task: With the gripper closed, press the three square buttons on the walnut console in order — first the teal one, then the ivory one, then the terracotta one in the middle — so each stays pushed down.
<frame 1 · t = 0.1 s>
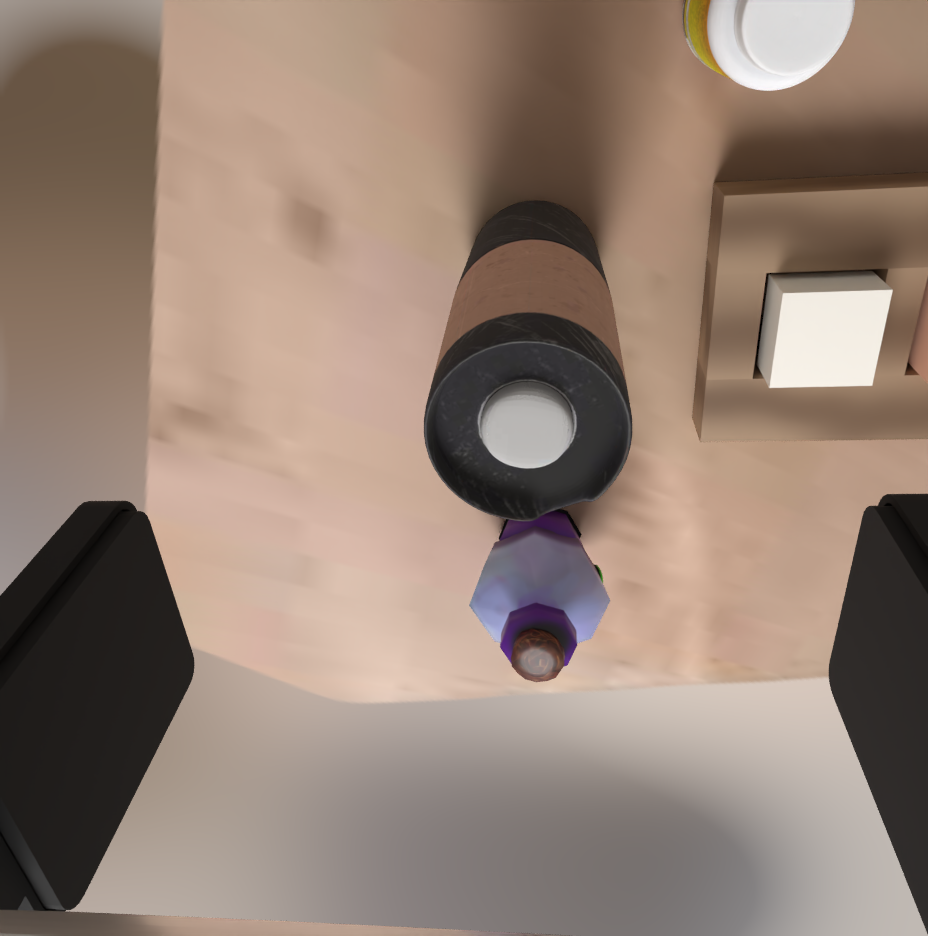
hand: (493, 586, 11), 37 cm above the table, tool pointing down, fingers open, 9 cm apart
travel mug: (534, 262, 46), on the table
supplement bottle: (739, 6, 39), on the table
potion bottle: (539, 534, 56), on the table
ivory button: (820, 329, 43), point 4 cm above the table, slide at 0.0 cm
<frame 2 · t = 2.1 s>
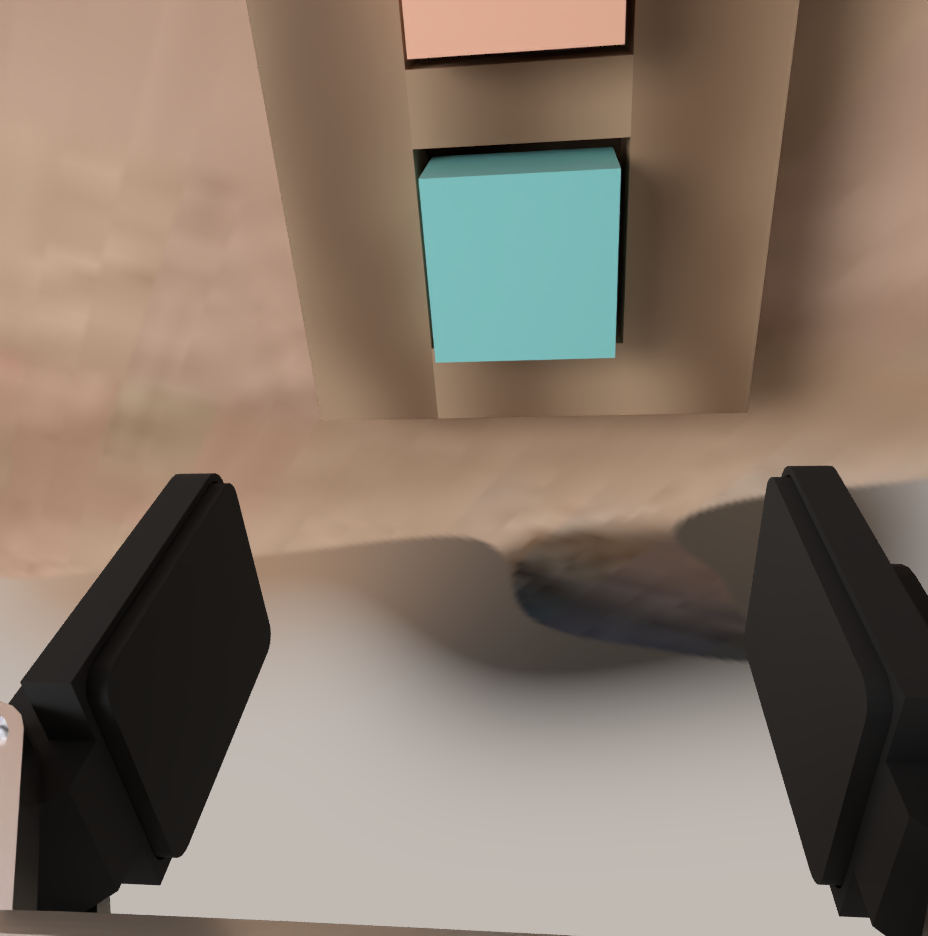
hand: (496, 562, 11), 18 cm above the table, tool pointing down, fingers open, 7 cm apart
teal button: (522, 256, 23), point 3 cm above the table, slide at 0.0 cm
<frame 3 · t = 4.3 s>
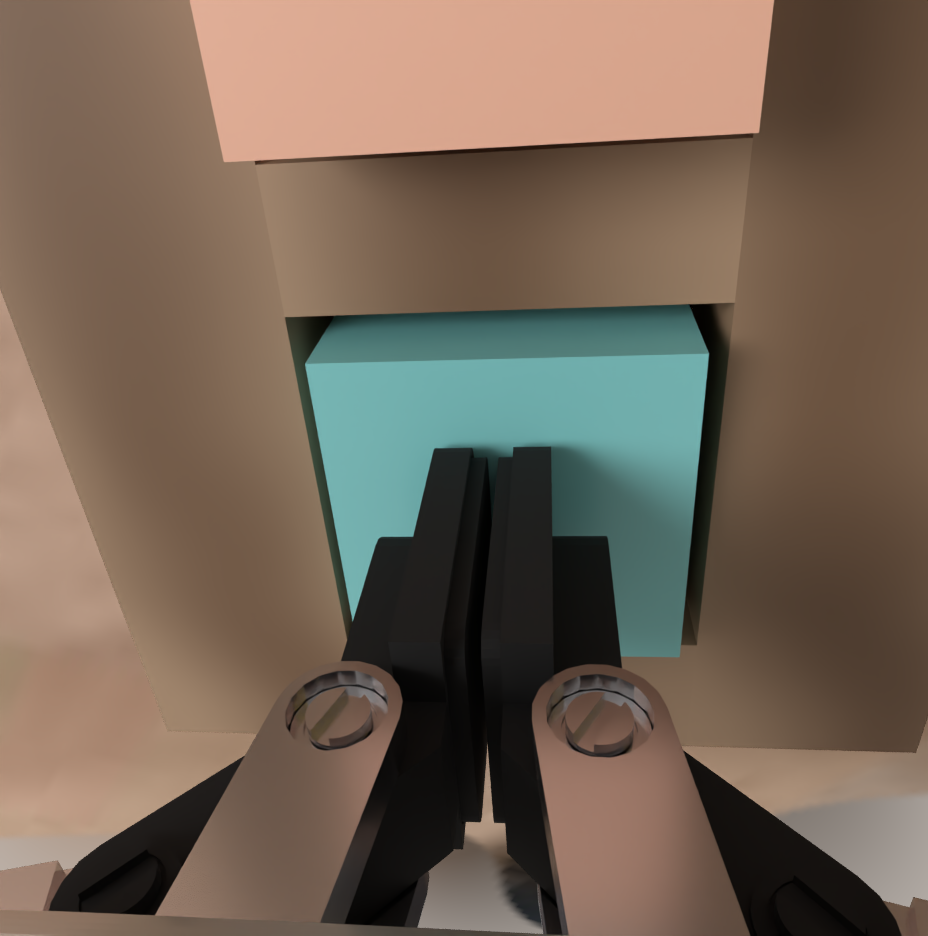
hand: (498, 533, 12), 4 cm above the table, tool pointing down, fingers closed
teal button: (513, 469, 13), point 2 cm above the table, slide at 1.3 cm, touching gripper
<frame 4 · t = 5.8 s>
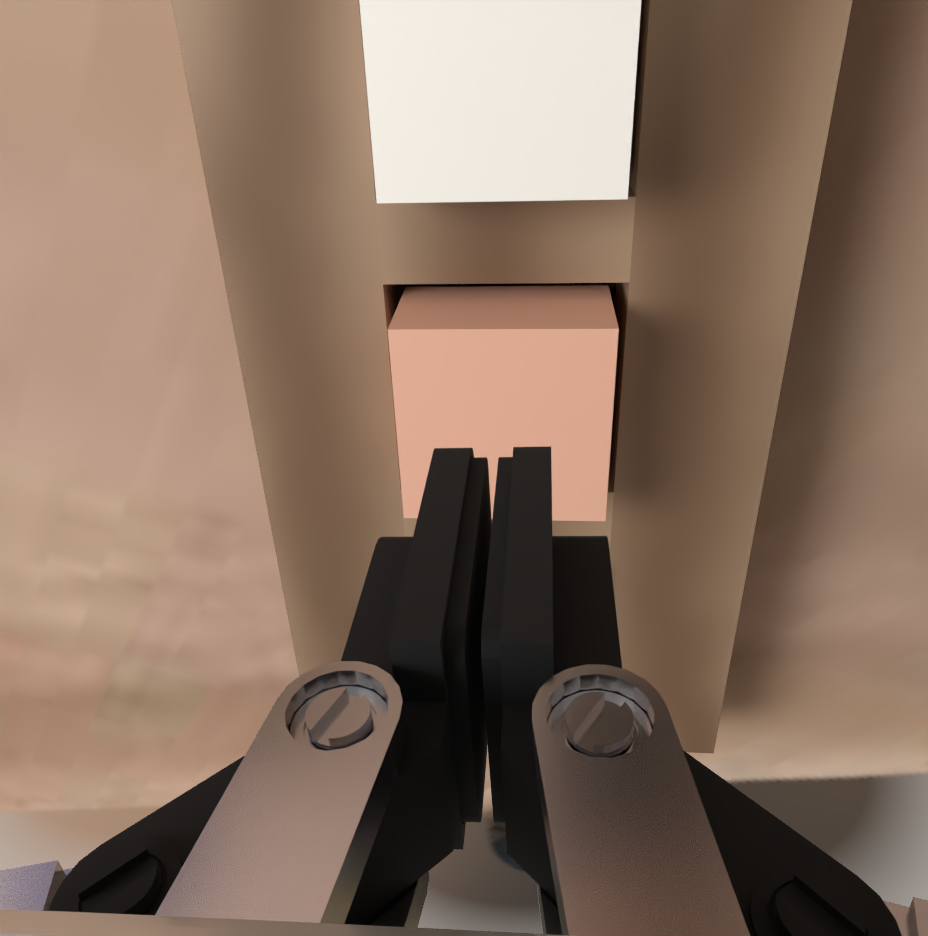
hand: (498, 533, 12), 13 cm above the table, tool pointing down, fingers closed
terracotta button: (504, 403, 21), point 3 cm above the table, slide at 0.0 cm
ivory button: (502, 55, 17), point 3 cm above the table, slide at 0.0 cm
console: (508, 350, 24), on the table
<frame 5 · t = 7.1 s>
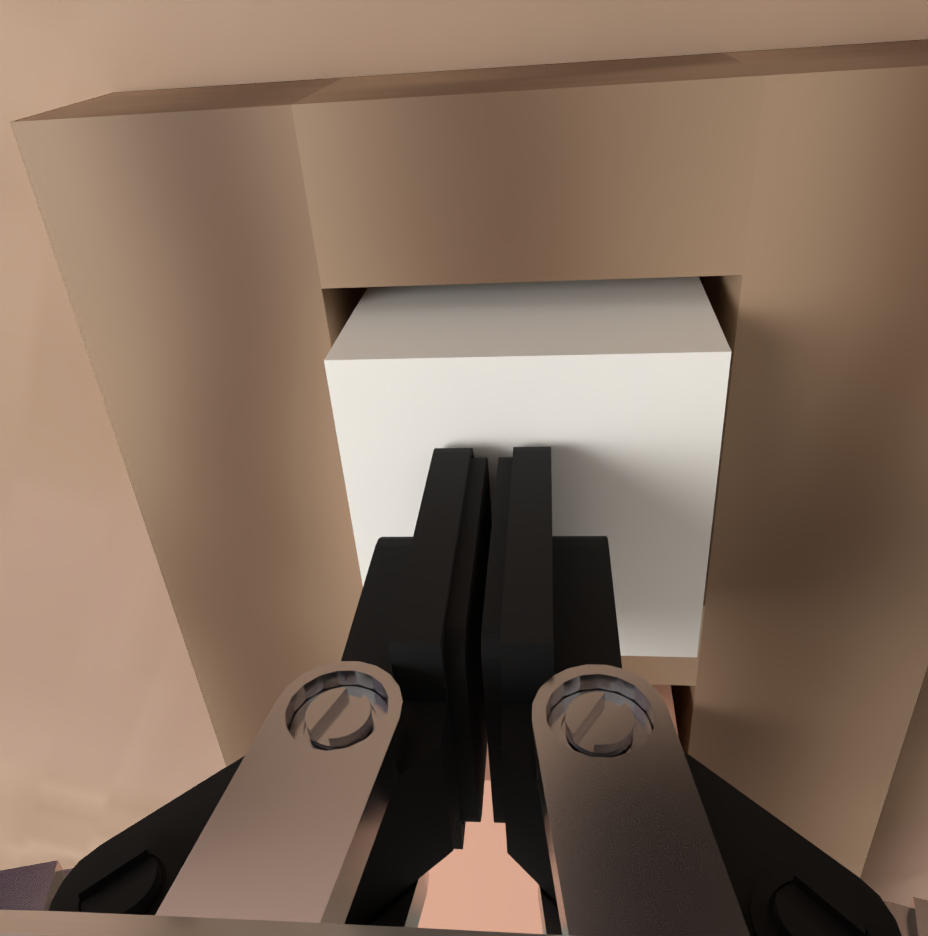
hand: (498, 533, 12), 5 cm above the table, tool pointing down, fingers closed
terracotta button: (539, 801, 17), point 3 cm above the table, slide at 0.0 cm
ivory button: (530, 467, 13), point 3 cm above the table, slide at 0.3 cm, touching gripper
console: (542, 677, 20), on the table
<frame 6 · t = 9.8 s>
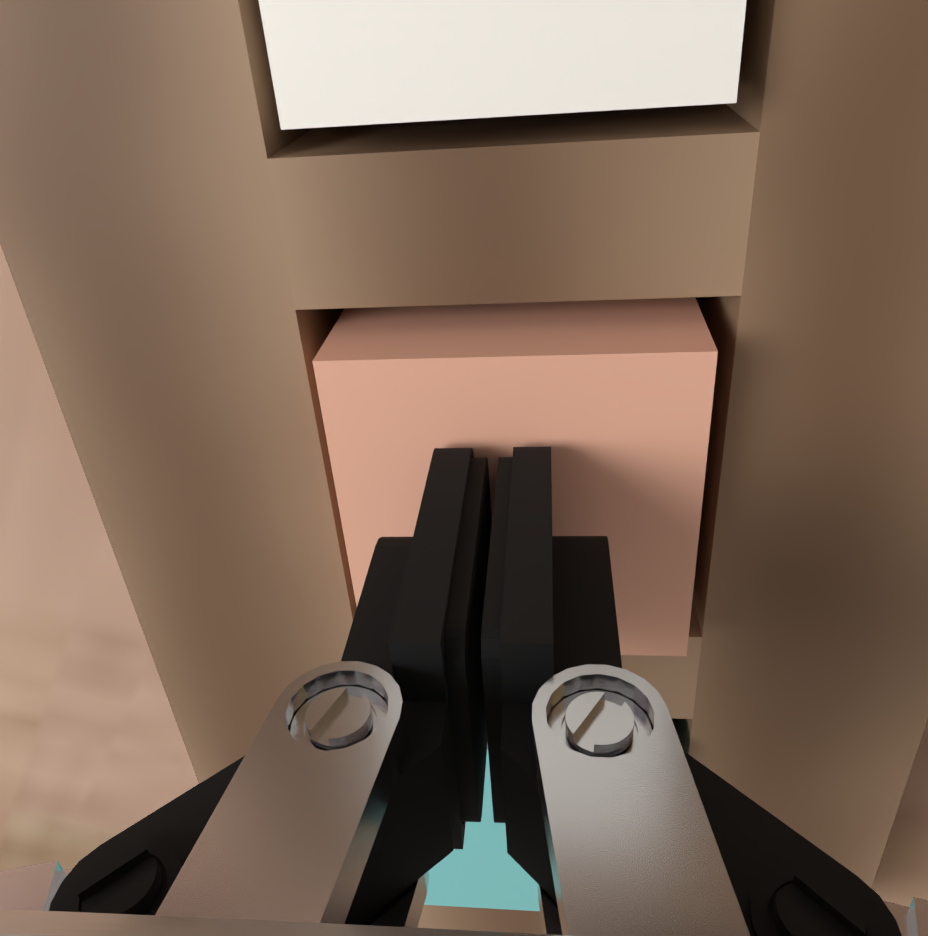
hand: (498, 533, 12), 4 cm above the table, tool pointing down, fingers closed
teal button: (532, 774, 17), point 2 cm above the table, slide at 1.5 cm
terracotta button: (520, 467, 13), point 2 cm above the table, slide at 1.1 cm, touching gripper
console: (524, 400, 15), on the table
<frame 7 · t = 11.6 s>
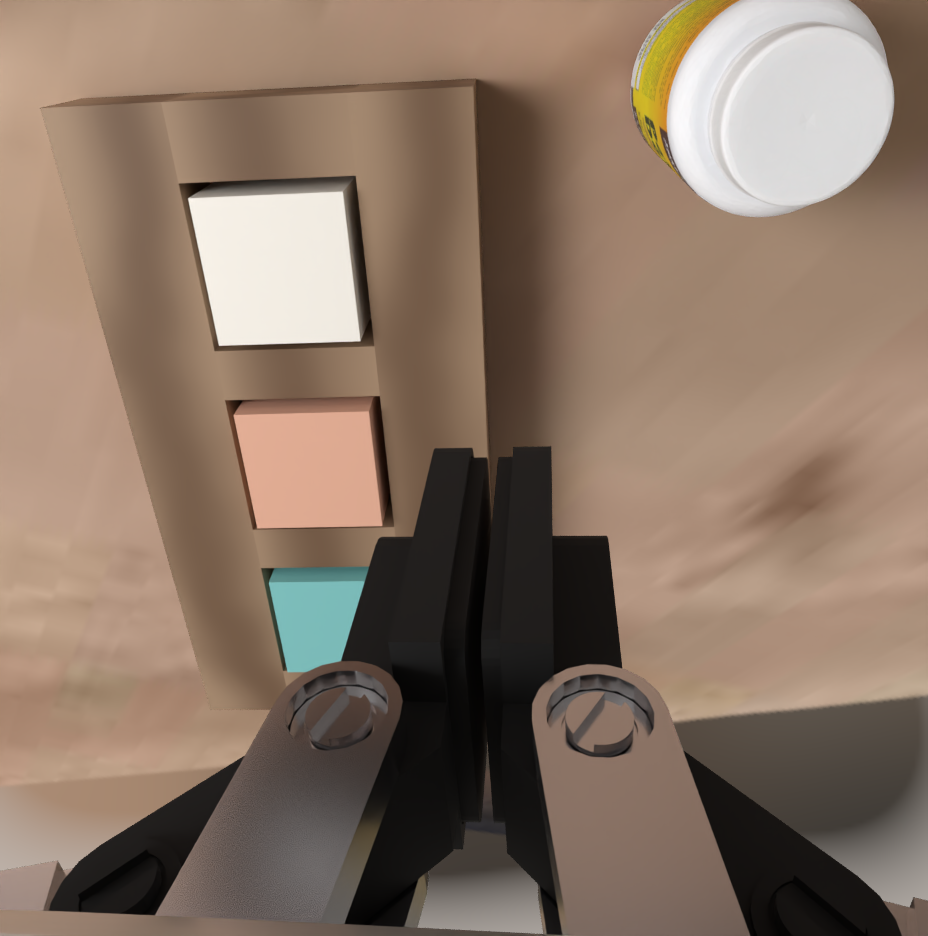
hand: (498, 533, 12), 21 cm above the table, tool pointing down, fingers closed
teal button: (341, 606, 37), point 2 cm above the table, slide at 1.5 cm
supplement bottle: (708, 82, 28), on the table
terracotta button: (318, 454, 33), point 2 cm above the table, slide at 1.5 cm
ivory button: (287, 260, 29), point 2 cm above the table, slide at 1.5 cm
console: (327, 432, 35), on the table
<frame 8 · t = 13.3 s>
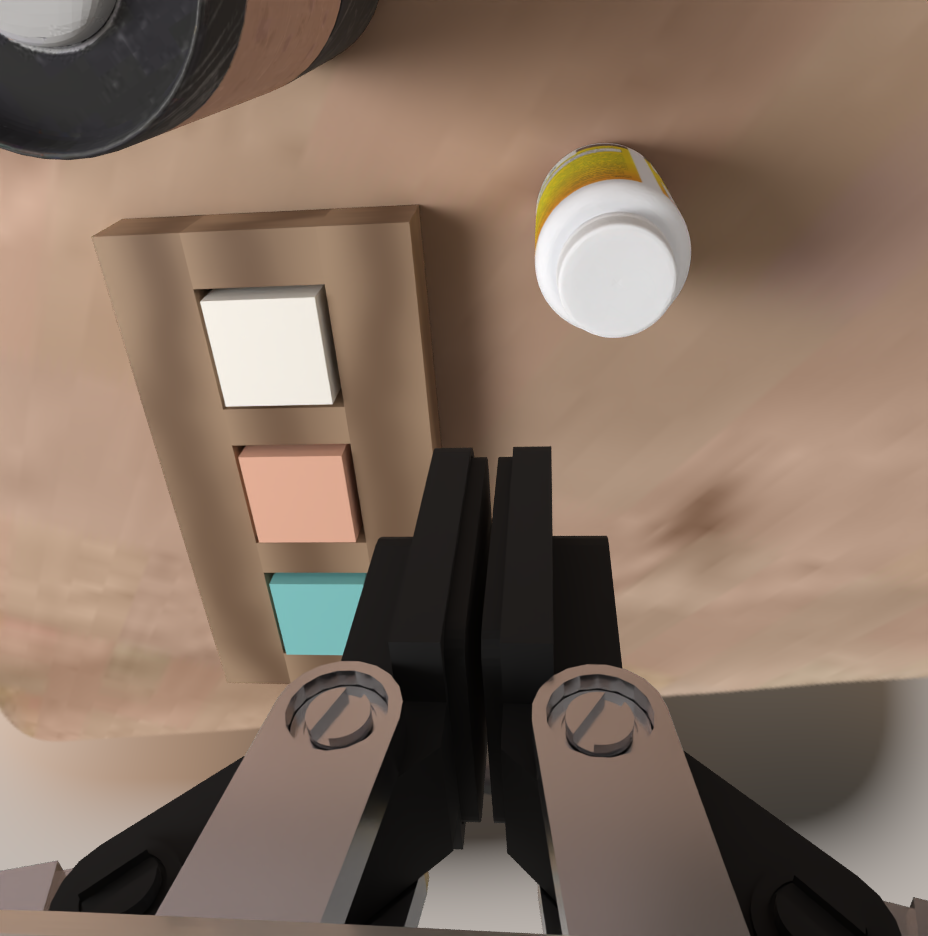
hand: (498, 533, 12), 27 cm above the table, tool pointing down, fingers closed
teal button: (329, 602, 46), point 2 cm above the table, slide at 1.5 cm
supplement bottle: (599, 206, 36), on the table
terracotta button: (306, 485, 42), point 2 cm above the table, slide at 1.5 cm
ivory button: (277, 341, 38), point 2 cm above the table, slide at 1.5 cm
console: (315, 465, 44), on the table
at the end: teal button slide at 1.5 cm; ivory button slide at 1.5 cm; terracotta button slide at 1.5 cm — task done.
